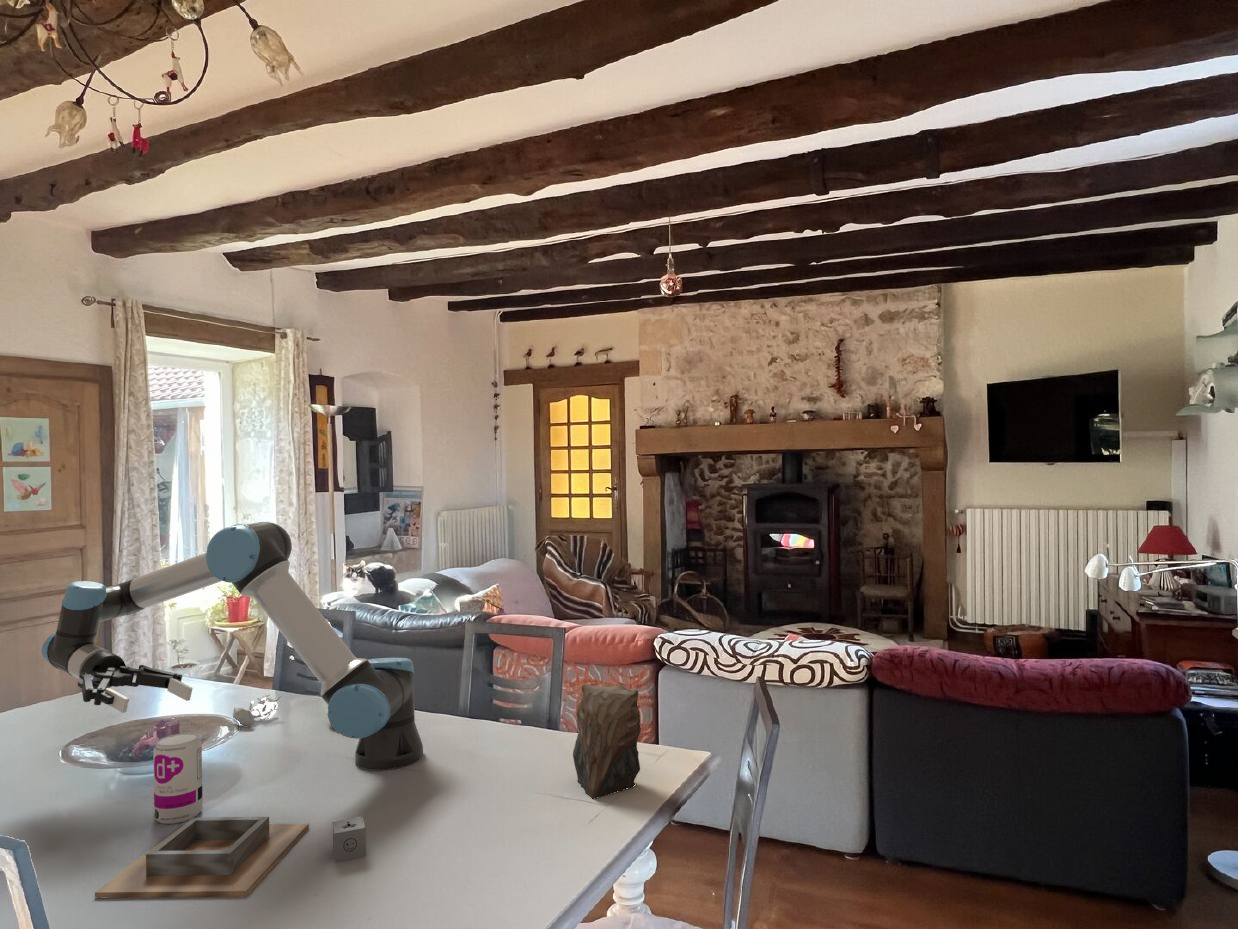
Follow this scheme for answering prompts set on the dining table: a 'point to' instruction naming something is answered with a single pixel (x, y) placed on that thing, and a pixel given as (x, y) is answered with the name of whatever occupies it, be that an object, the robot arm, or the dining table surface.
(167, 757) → the supplement can
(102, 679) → the robot arm
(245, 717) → the figurine
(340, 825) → the dice cube
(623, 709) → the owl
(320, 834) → the dining table surface
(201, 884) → the collar board
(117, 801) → the dining table surface
